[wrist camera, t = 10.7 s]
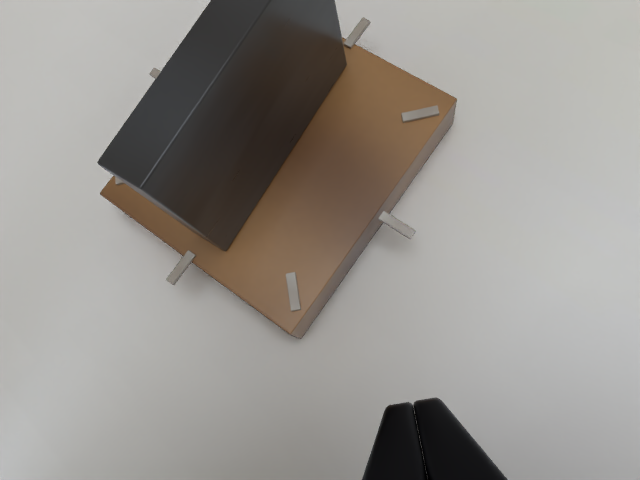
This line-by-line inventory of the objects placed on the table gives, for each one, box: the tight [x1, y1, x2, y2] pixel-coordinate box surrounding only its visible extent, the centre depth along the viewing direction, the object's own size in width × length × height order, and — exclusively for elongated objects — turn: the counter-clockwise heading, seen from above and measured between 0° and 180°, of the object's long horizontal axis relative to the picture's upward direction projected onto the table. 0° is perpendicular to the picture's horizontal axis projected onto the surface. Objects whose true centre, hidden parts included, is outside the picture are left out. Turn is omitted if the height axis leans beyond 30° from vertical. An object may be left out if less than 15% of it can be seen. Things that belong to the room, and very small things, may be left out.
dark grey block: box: [98, 0, 347, 251], centre depth 18 cm, size 9×2×7 cm, turn 148°
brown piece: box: [100, 18, 457, 339], centre depth 23 cm, size 13×13×2 cm
